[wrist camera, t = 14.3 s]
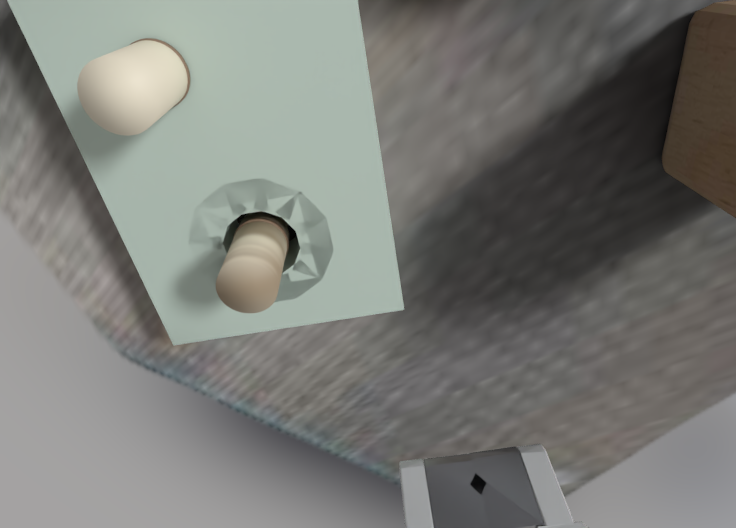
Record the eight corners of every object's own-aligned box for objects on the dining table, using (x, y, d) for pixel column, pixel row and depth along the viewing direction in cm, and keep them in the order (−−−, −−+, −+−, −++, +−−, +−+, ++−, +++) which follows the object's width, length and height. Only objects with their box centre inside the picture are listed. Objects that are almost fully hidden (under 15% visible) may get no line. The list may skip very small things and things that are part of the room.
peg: (238, 197, 33) (204, 267, 25) (287, 187, 33) (268, 256, 25) (253, 240, 35) (226, 319, 27) (300, 231, 34) (286, 308, 27)
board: (42, -23, 26) (-83, -15, 18) (344, -80, 25) (345, -98, 18) (188, 310, 37) (149, 400, 30) (398, 277, 37) (413, 361, 29)
